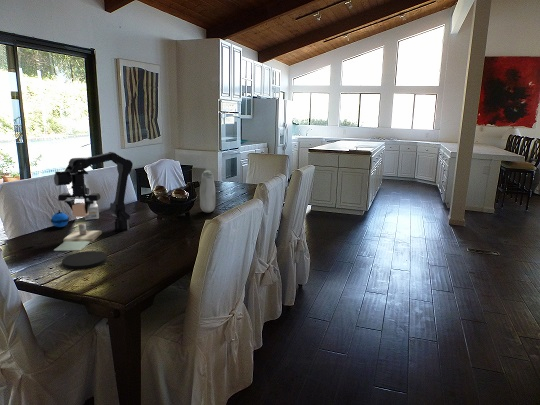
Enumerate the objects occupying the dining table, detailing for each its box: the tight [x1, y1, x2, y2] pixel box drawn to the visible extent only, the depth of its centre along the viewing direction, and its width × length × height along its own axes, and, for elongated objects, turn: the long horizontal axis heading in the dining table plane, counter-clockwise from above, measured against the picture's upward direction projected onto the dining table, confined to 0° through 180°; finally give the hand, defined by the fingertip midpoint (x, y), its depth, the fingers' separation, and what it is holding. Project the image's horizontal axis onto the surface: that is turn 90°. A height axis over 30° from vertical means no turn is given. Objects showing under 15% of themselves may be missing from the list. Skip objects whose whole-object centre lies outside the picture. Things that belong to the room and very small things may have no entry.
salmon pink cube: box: [71, 202, 89, 218], centre depth 197 cm, size 6×6×6 cm
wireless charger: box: [61, 250, 108, 271], centre depth 169 cm, size 18×18×2 cm
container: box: [83, 199, 100, 221], centre depth 236 cm, size 8×8×13 cm
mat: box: [53, 241, 91, 252], centre depth 187 cm, size 12×12×1 cm
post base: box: [63, 223, 103, 243], centre depth 200 cm, size 14×14×7 cm
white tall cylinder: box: [199, 169, 216, 213], centre depth 255 cm, size 10×10×28 cm
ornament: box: [50, 209, 70, 228], centre depth 216 cm, size 9×9×10 cm
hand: (80, 213), depth 197 cm, fingers closed on salmon pink cube, 6 cm apart
